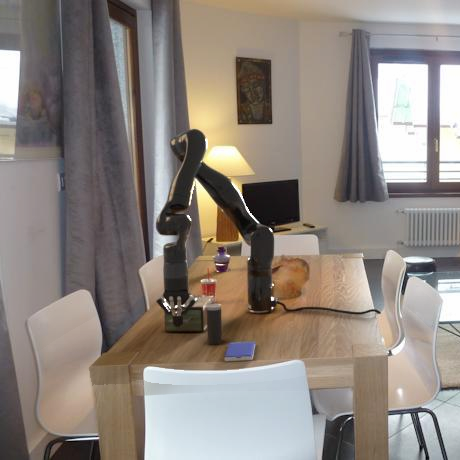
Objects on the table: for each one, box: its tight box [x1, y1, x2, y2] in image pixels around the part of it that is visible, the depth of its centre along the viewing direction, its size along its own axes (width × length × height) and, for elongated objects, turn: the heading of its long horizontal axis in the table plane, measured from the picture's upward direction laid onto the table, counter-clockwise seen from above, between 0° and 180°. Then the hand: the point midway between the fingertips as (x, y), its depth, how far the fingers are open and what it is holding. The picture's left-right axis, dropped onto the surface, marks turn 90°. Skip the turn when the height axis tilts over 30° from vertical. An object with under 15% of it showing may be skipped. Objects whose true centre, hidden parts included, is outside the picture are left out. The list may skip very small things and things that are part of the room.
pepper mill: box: [206, 303, 223, 346], centre depth 203 cm, size 4×4×12 cm
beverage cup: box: [200, 267, 218, 304], centre depth 248 cm, size 6×6×14 cm
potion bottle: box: [212, 245, 231, 273], centre depth 302 cm, size 9×9×12 cm
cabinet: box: [163, 294, 215, 333], centre depth 220 cm, size 15×13×9 cm
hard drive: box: [224, 341, 256, 362], centre depth 195 cm, size 2×8×12 cm
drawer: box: [164, 310, 202, 331], centre depth 216 cm, size 18×12×7 cm, turn 4°
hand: (178, 326), depth 206 cm, fingers closed
